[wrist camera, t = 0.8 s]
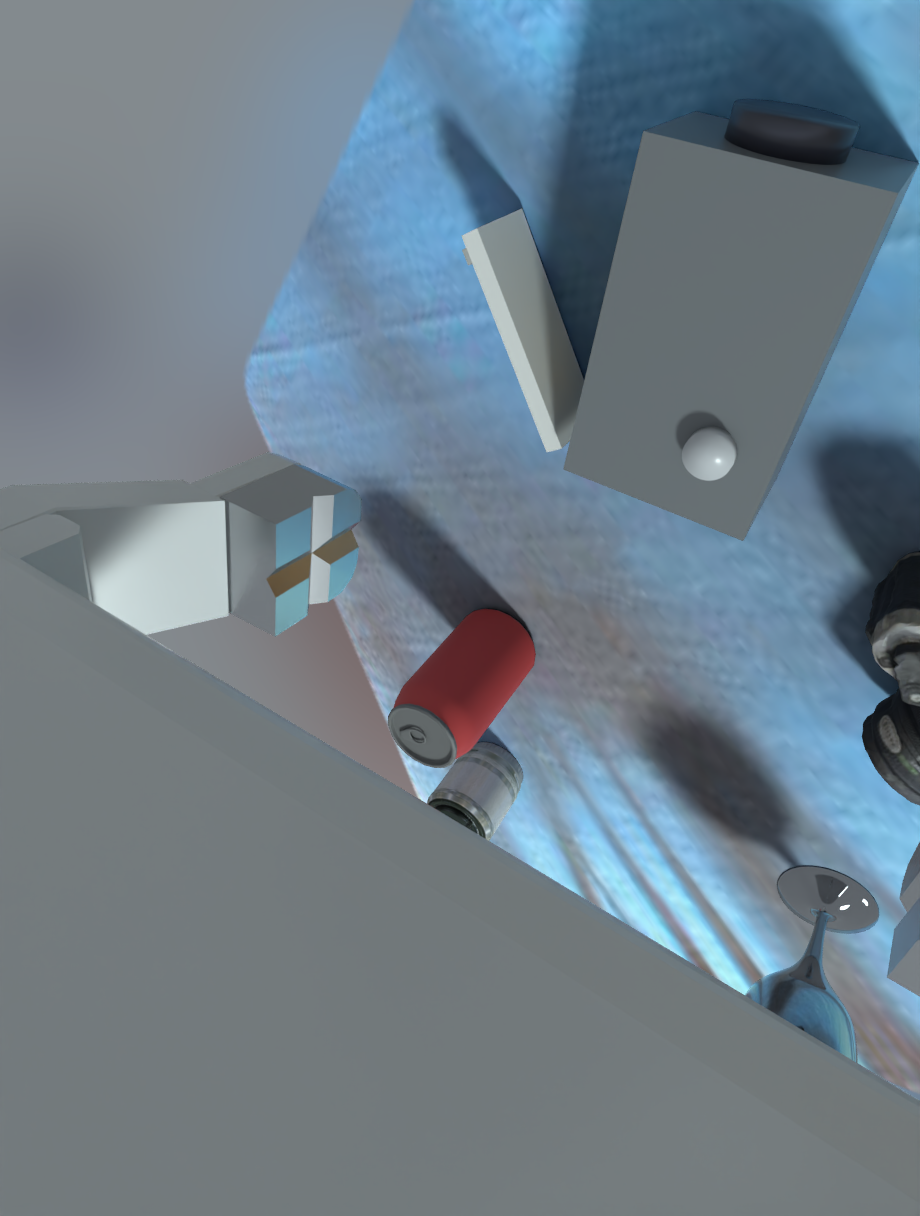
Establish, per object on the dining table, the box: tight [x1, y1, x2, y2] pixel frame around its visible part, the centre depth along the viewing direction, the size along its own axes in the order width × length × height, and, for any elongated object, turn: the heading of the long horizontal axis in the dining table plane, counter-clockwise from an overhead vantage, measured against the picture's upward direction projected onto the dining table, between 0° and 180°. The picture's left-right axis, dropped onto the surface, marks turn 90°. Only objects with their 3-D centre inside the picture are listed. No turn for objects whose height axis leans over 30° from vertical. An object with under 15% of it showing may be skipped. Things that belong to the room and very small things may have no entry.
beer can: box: [388, 609, 536, 768], centre depth 59 cm, size 7×7×12 cm
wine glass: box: [745, 866, 879, 1063], centre depth 55 cm, size 8×8×15 cm
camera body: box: [564, 99, 919, 541], centre depth 37 cm, size 17×10×8 cm, turn 173°
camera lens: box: [427, 742, 523, 841], centre depth 69 cm, size 6×6×8 cm
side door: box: [462, 209, 584, 452], centre depth 44 cm, size 12×2×5 cm, turn 28°
